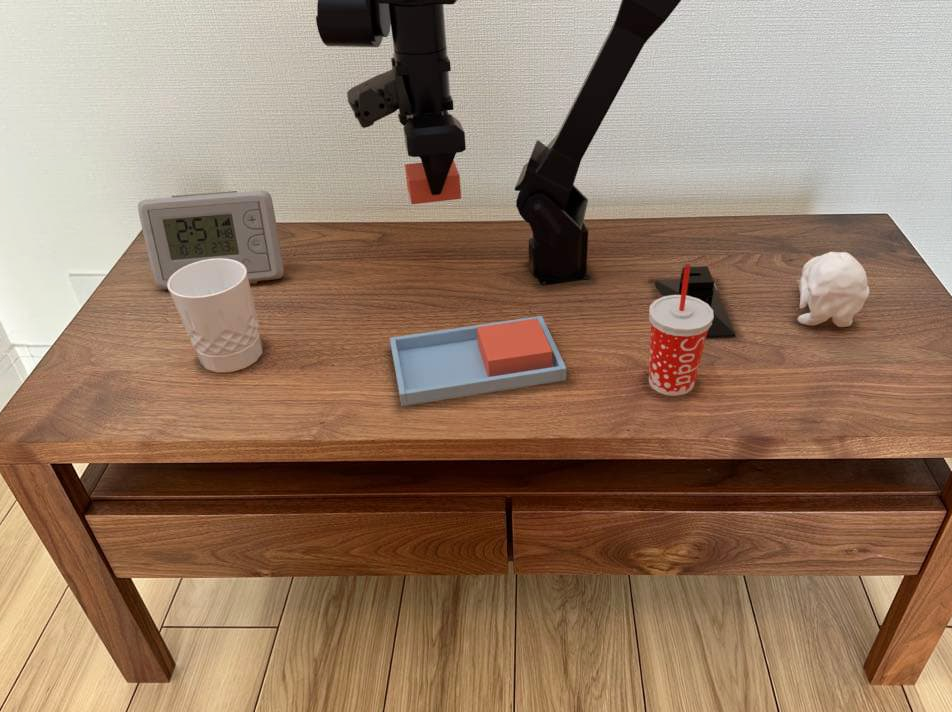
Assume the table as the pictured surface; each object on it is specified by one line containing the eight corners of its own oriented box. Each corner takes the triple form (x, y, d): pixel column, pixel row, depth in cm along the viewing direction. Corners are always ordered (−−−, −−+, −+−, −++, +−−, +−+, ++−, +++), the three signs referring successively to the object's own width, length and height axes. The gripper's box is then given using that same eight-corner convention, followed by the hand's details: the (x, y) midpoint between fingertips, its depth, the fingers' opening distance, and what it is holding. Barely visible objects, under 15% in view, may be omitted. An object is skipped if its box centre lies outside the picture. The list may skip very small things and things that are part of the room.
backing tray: (541, 330, 87) (541, 315, 85) (566, 383, 79) (566, 368, 78) (391, 352, 84) (389, 337, 83) (402, 409, 76) (399, 394, 75)
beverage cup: (646, 405, 76) (661, 283, 67) (636, 368, 81) (648, 250, 72) (707, 402, 76) (729, 281, 67) (693, 365, 81) (713, 247, 72)
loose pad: (455, 182, 95) (453, 158, 93) (461, 199, 91) (459, 175, 89) (407, 187, 94) (404, 164, 92) (411, 204, 90) (408, 180, 88)
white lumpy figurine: (817, 265, 79) (797, 223, 89) (800, 337, 84) (783, 289, 94) (880, 268, 78) (853, 225, 88) (860, 340, 83) (836, 292, 93)
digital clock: (150, 293, 95) (120, 215, 88) (179, 258, 102) (153, 182, 95) (276, 295, 94) (256, 215, 87) (296, 259, 101) (279, 183, 94)
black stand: (654, 282, 94) (658, 249, 91) (713, 281, 94) (718, 247, 91) (672, 339, 85) (677, 303, 82) (738, 337, 85) (745, 301, 82)
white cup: (248, 380, 81) (223, 300, 74) (181, 373, 82) (151, 293, 76) (280, 338, 87) (259, 261, 80) (217, 332, 88) (192, 255, 82)
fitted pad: (537, 336, 85) (537, 318, 83) (552, 370, 80) (552, 351, 78) (477, 345, 84) (476, 327, 82) (489, 380, 79) (488, 361, 77)
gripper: (342, 32, 88) (362, 162, 98) (348, 80, 74) (371, 227, 84) (437, 24, 89) (447, 153, 99) (461, 70, 75) (470, 215, 85)
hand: (433, 185), depth 92 cm, fingers closed on loose pad, 5 cm apart
